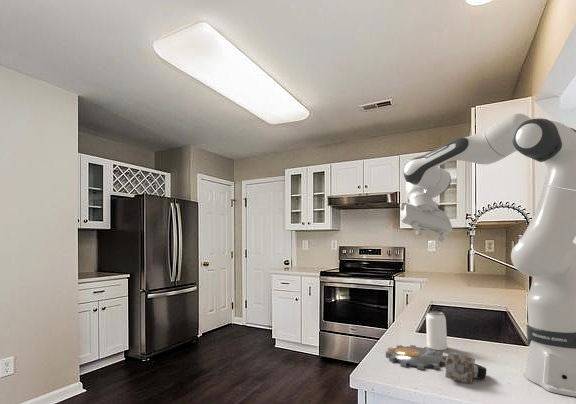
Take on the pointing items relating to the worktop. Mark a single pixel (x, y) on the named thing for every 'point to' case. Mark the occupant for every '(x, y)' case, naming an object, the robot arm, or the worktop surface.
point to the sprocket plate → (416, 357)
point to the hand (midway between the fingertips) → (430, 237)
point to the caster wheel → (463, 368)
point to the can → (436, 331)
